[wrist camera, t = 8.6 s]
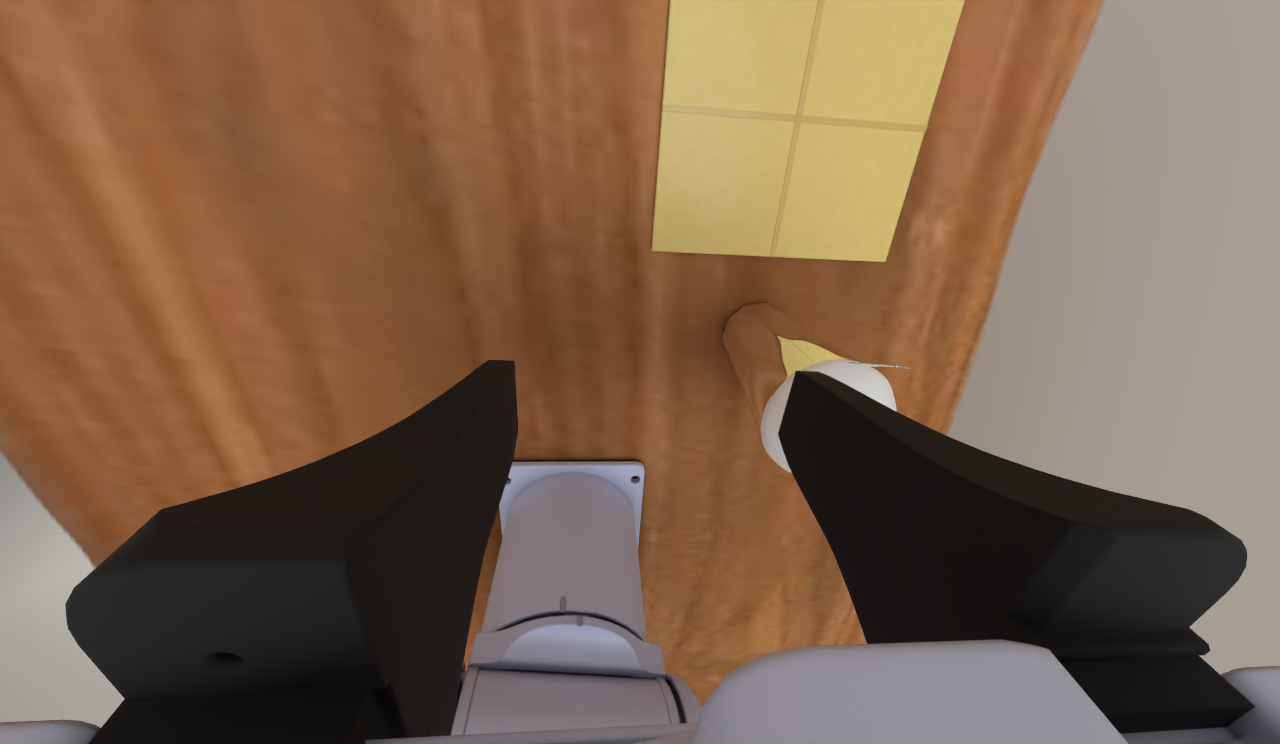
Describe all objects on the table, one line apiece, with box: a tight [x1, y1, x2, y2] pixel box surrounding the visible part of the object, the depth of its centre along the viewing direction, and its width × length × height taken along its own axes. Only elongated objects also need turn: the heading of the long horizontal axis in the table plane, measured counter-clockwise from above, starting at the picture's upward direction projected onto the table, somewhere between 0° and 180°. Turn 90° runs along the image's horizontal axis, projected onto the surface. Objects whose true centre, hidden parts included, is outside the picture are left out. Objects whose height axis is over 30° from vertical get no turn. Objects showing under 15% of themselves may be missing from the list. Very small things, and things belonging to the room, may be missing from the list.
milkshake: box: [722, 302, 909, 473], centre depth 18 cm, size 4×5×10 cm
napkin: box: [651, 0, 965, 262], centre depth 18 cm, size 11×11×1 cm
